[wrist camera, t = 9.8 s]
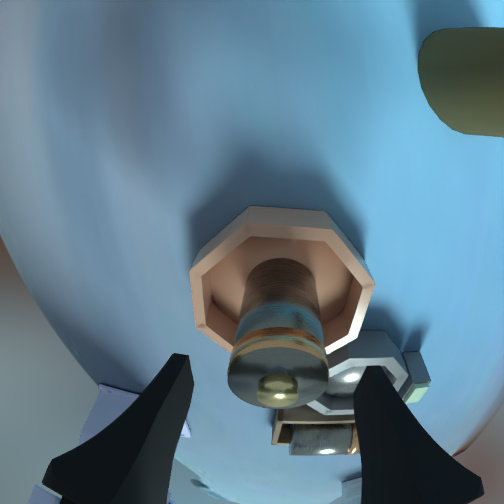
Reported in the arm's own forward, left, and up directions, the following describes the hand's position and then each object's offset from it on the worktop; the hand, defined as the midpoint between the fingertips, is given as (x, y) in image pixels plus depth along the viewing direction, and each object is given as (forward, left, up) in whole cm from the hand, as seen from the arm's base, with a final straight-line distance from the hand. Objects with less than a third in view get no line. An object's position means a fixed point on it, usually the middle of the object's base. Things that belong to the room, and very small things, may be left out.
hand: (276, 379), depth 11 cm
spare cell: (+6, -15, -7) cm, 18 cm away
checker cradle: (+6, -7, -7) cm, 11 cm away
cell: (0, 0, -6) cm, 6 cm away
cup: (0, 0, -7) cm, 7 cm away
